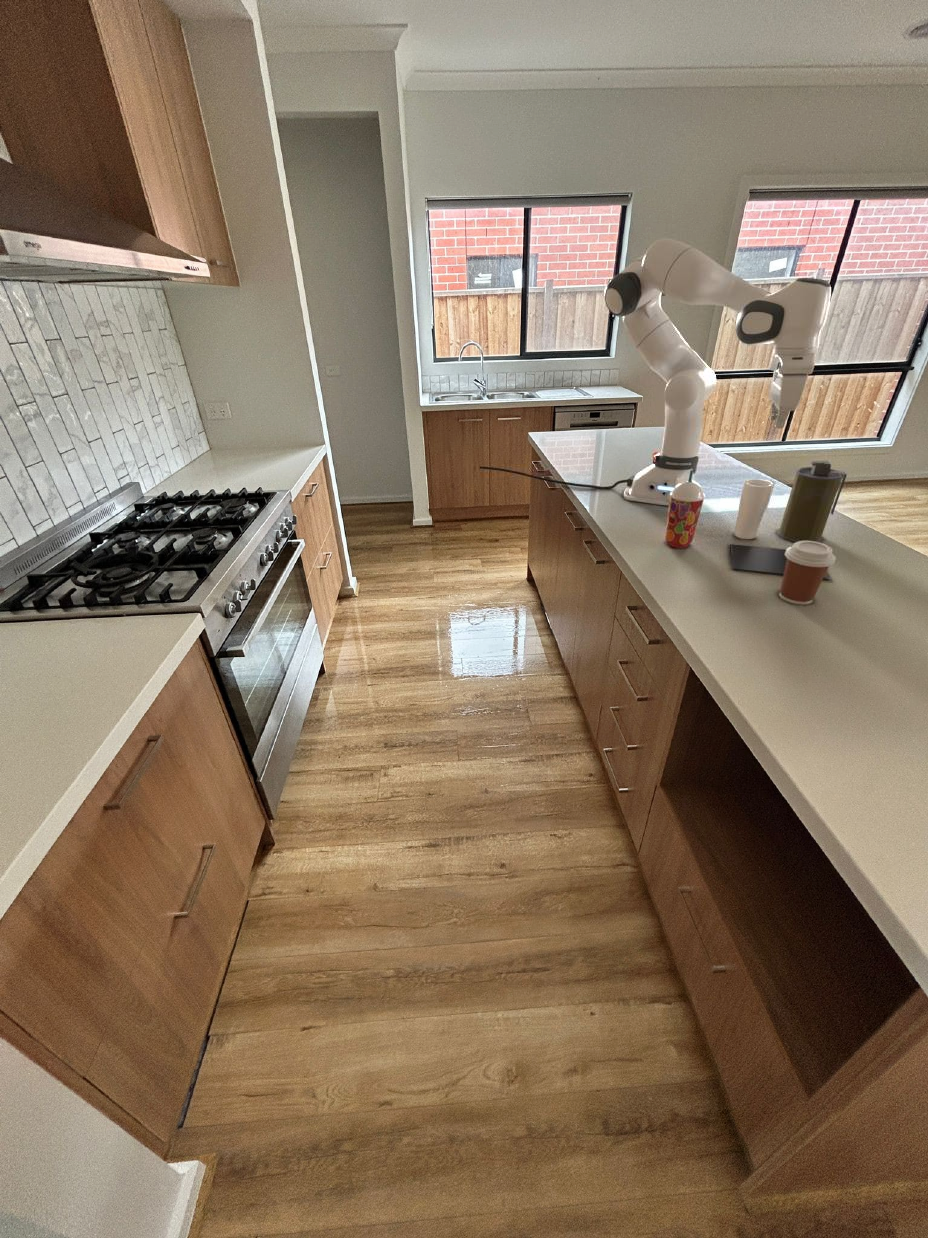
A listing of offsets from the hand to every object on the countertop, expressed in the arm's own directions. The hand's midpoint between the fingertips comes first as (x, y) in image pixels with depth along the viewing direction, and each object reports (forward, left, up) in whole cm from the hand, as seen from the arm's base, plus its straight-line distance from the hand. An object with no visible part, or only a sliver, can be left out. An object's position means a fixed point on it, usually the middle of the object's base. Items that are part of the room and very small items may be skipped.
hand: (776, 423), depth 126 cm
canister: (+13, +4, -30) cm, 33 cm away
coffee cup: (+7, -33, -30) cm, 45 cm away
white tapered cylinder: (-1, 0, -30) cm, 30 cm away
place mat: (+5, -15, -30) cm, 34 cm away
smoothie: (-18, -10, -30) cm, 36 cm away
